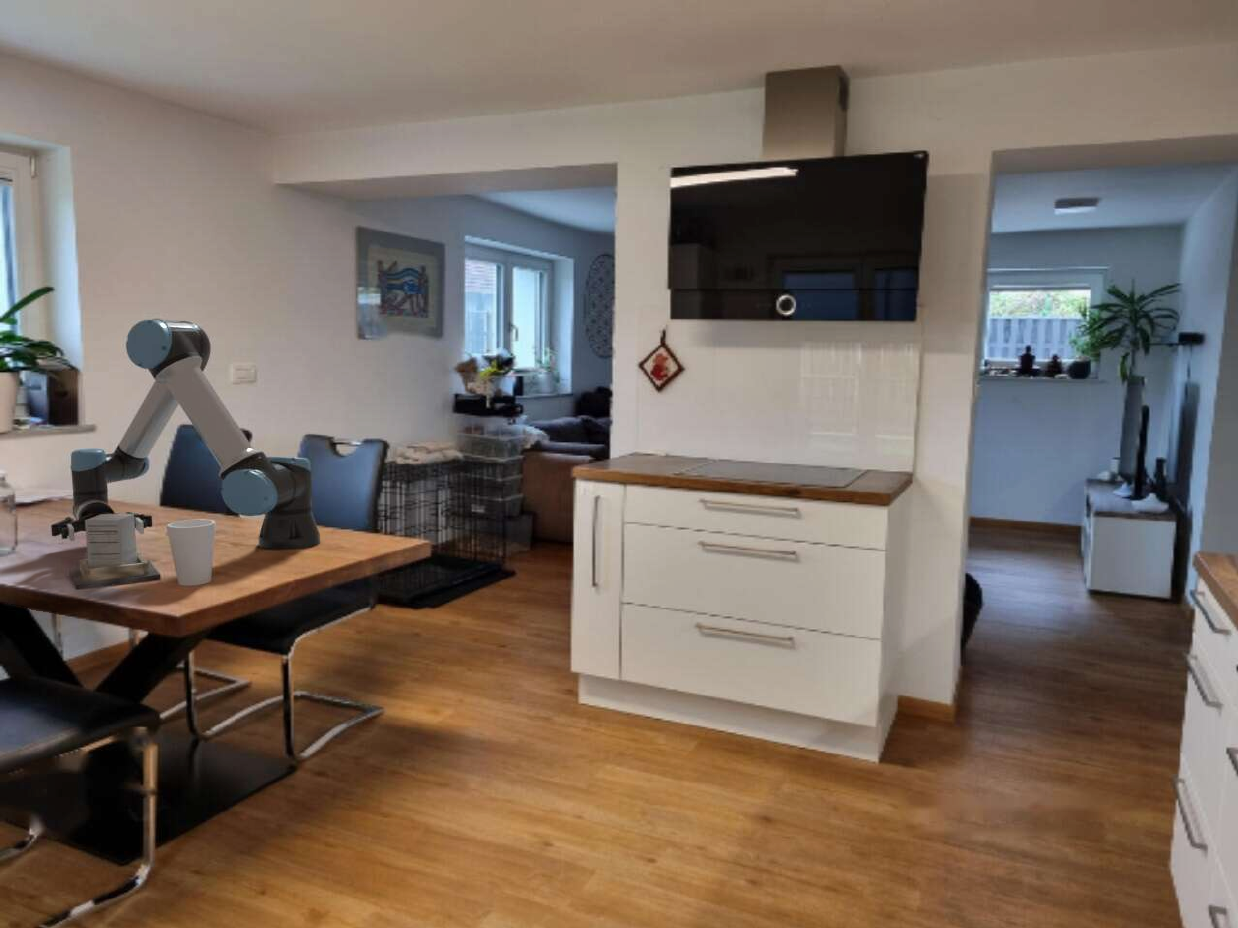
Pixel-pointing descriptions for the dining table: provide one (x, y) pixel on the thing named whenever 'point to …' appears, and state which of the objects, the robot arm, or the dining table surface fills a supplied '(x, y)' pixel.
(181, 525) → the foam cup
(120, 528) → the supplement box
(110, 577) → the keeper cradle
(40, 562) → the dining table surface
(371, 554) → the dining table surface
